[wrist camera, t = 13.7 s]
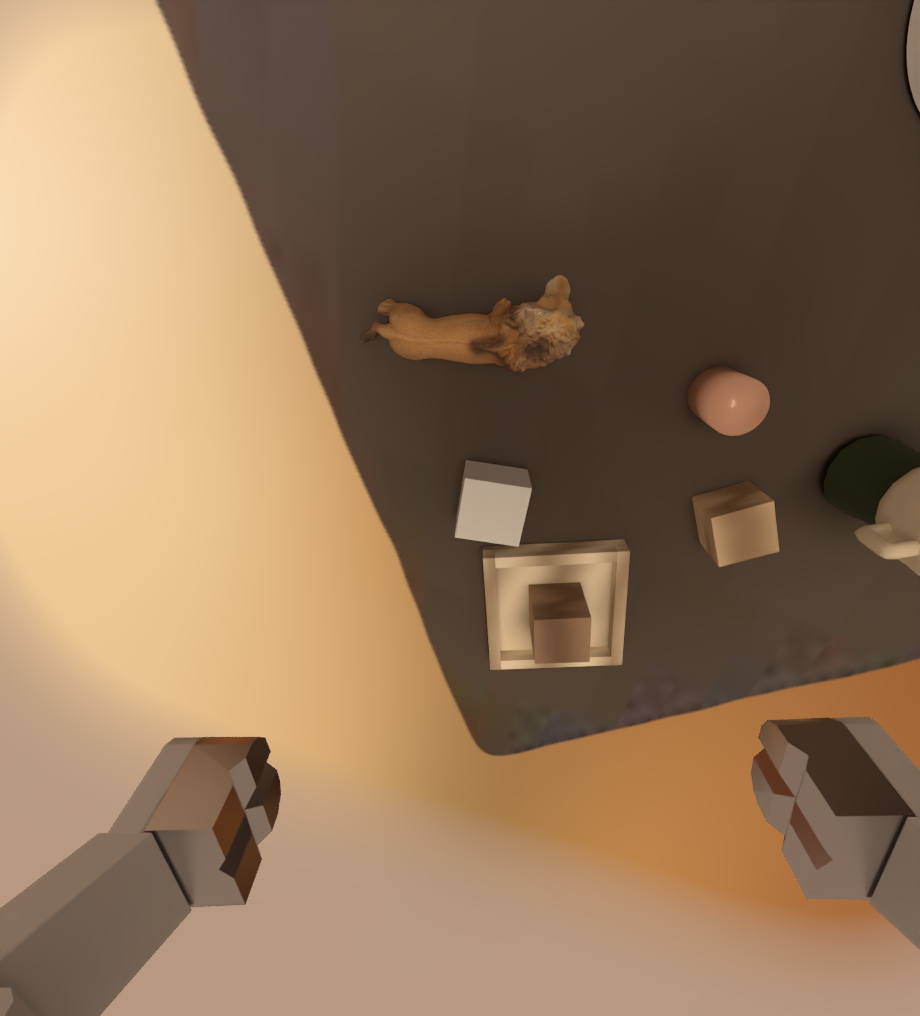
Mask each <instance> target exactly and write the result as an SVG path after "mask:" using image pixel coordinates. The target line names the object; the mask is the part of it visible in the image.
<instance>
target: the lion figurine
mask: <svg viewBox="0 0 920 1016" xmlns="http://www.w3.org/2000/svg"><path fill="white" fill-rule="evenodd" d="M569 295H570V285H569V283H568V280H567V279H566V278H565V277H564V276H561V275H558V276H556V277H554V279H551V280H550V281H549V282H548V283H547V285H546V289H545V293H544V295H543V296H542V297H541V298H540V299H539V300H538V301H537V302H526V303H522V304H520V305H512V304H511V302H510V301H509V300H507V299H506V298H503V299H501V300H500V301H499V302H498V303H497V304H496V305H495V306H494V307H493V311H492V312H491V313H489V314H488V315H484V314H468V313H467V314H459V315H450V316H445V317H441V318H436V319H434V318H430V317H428V316H426V315H425V314H424V312H423V311H422V310H421V309H420V308H418V307H416V306H414V305H412V304H408V303H397V302H396V301H394V300H393V299H386V300H384V301H382V302H381V303H380V304H379V306H378V312H379V313H380V314H381V315H384V316H389V324H380V323H378V322H375V323H374V324H373V325H372V328H371V329H370V330H368V331H366V332H365V333H364V334H362V335H361V336H360V341H361V342H366V341H368V340H372V339H373V338H374V337H375V335H376V334H377V333H379V334H380V335H381V336H383V337H384V338H387V339H388V340H389V343H390V346H391V347H392V349H393V350H394V351H395V352H396V353H397V354H399V355H400V356H402V357H404V358H407V359H411V360H421V359H428V358H437V359H445V360H450V361H456V362H462V363H468V364H489V363H495V364H497V365H499V366H505V367H506V368H507V369H509V370H511V371H513V372H516V371H521V372H524V371H525V370H527V369H532V368H538V367H540V366H542V367H545V366H546V365H547V364H548V363H551V362H553V361H554V360H555V359H557V360H559V359H561V358H562V357H564V356H566V355H569V354H570V353H571V349H572V348H573V347H574V345H575V344H576V343H577V342H578V340H579V339H580V335H579V331H580V329H581V328H582V327H583V326H584V323H583V322H582V320H581V317H580V316H578V317H577V316H576V315H575V314H573V311H572V305H571V303H570V302H569Z"/></svg>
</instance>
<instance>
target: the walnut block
mask: <svg viewBox="0 0 920 1016" xmlns="http://www.w3.org/2000/svg"><path fill="white" fill-rule="evenodd" d="M528 587H529V627H530V634H531V641H532V648H533V655H534V662H535V664H546V663H574V662H590V641H591V615H590V612H589V608H588V605H587V602H586V599H585V596H584V593H583V590H582V586H581V583H580V582H573V583H551V584H529V585H528Z"/></svg>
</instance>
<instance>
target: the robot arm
mask: <svg viewBox="0 0 920 1016" xmlns="http://www.w3.org/2000/svg"><path fill="white" fill-rule="evenodd" d="M907 70H908V78H909V83H910V88H911V92H912V95H913V98H914V101H915V103H916V106H917V108H918V110H919V112H920V0H914V4H913V8H912V12H911V17H910V22H909V29H908V37H907ZM758 738H759V739H760V741H761V743H762V745H763V746H764V749H763V750H762V751H760V752H759V753H758V754H757V755H756V756H754V758H753V764H752V769H751V776H752V784H753V790H754V793H755V796H756V799H757V802H758V805H759V807H760V809H761V811H762V813H763V815H764V817H765V819H766V821H767V822H768V823H769V824H771V825H772V826H773V827H774V828H776V829H777V830H778V831H779V832H781V833H782V834H783V835H784V841H783V847H782V852H783V854H784V856H785V858H786V860H787V862H788V864H789V865H790V867H791V869H792V871H793V873H794V875H795V877H796V879H797V881H798V882H799V885H800V886H801V888H802V890H803V892H804V894H805V896H806V898H807V899H808V898H809V899H810V898H811V899H861V900H863V899H864V900H870V902H869V903H870V904H871V905H872V906H873V907H874V908H875V909H876V910H877V911H878V912H879V913H881V914H882V915H883V916H884V917H885V918H886V919H887V920H888V921H889V922H890V923H891V924H893V925H894V926H895V927H896V928H897V929H898V930H899V931H900V932H901V933H902V934H903V935H905V936H906V937H907V938H908V939H909V940H910V941H911V942H912V943H913V944H914V945H915V946H917V947H918V948H919V949H920V770H919V769H918V768H917V767H916V766H915V764H914V763H913V762H912V761H911V760H910V759H909V758H908V757H907V755H906V754H905V753H904V752H903V751H902V750H901V749H900V747H899V746H898V745H897V744H896V743H895V742H894V741H893V739H892V738H891V737H890V736H889V735H888V734H887V733H886V731H885V730H884V729H883V728H882V727H881V726H880V725H879V724H878V723H877V722H876V721H874V720H873V719H871V718H869V717H852V718H851V717H849V718H832V719H831V718H811V719H788V720H767V721H766V722H765V723H764V724H763V725H762V726H761V729H760V733H759V737H758ZM269 754H270V749H269V746H268V743H267V742H266V738H262V737H202V738H201V737H199V738H197V737H196V738H174V739H172V740H171V741H170V742H168V743H167V744H166V745H165V746H164V747H163V749H162V750H161V752H160V753H159V755H158V756H157V758H156V759H155V761H154V763H153V764H152V766H151V767H150V769H149V770H148V772H147V773H146V775H145V776H144V778H143V780H142V781H141V783H140V784H139V786H138V787H137V789H136V790H135V792H134V793H133V795H132V796H131V798H130V800H129V801H128V803H127V804H126V806H125V807H124V809H123V810H122V812H121V813H120V815H119V816H118V818H117V819H116V821H115V823H114V824H113V826H112V827H111V829H110V830H109V832H108V833H99V834H97V835H96V836H95V837H93V838H92V839H91V840H89V841H88V842H87V843H85V844H84V845H83V846H81V847H80V848H79V849H77V850H76V851H75V852H73V853H72V854H71V855H70V856H68V857H67V858H66V859H64V860H63V861H62V862H60V863H59V864H58V865H57V866H55V867H54V868H53V869H51V870H50V871H49V872H47V873H46V874H45V875H43V876H42V877H41V878H39V879H38V880H37V881H36V882H34V883H33V884H32V885H30V886H29V887H28V888H26V889H25V890H24V891H23V892H21V893H20V894H18V895H17V896H16V897H15V898H13V899H12V900H11V901H9V902H8V903H7V904H5V905H4V906H3V907H1V908H0V1016H100V1015H101V1014H102V1013H103V1011H104V1010H105V1009H106V1008H107V1007H108V1006H109V1005H110V1003H111V1002H112V1001H113V1000H114V999H115V998H116V997H117V995H118V994H119V993H120V992H121V991H122V990H123V989H124V987H125V986H126V985H127V984H128V983H129V982H130V981H131V979H132V978H133V977H134V976H135V975H136V974H137V973H138V971H139V970H140V969H141V968H142V967H143V966H144V965H145V963H146V962H147V961H148V960H149V959H150V958H151V957H152V955H153V954H154V953H155V952H156V951H157V950H158V948H159V947H160V946H161V945H162V944H163V943H164V942H165V940H166V939H167V938H168V937H169V936H170V934H172V932H173V931H174V930H175V929H176V928H177V927H178V926H179V924H180V923H181V922H182V921H183V920H184V919H185V917H186V916H187V915H188V914H189V913H190V912H191V908H190V907H204V906H226V905H245V904H246V901H247V899H248V896H249V893H250V890H251V888H252V885H253V882H254V879H255V877H256V874H257V871H258V868H259V866H260V863H261V860H262V858H261V855H260V851H259V848H258V844H259V843H260V842H261V841H262V840H263V839H264V838H265V837H266V836H267V835H268V834H269V833H270V832H271V831H272V829H273V826H274V824H275V821H276V818H277V815H278V810H279V802H280V796H281V789H280V779H279V776H278V773H277V770H276V769H275V768H274V767H272V766H271V765H270V764H268V763H267V759H268V757H269Z"/></svg>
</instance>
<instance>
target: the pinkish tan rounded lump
mask: <svg viewBox="0 0 920 1016" xmlns="http://www.w3.org/2000/svg"><path fill="white" fill-rule="evenodd" d="M687 402H688V406H689V408H690V410H691V412H692V413H693V414H694V415H695V416H697V417H698V418H700V419H701V420H702V421H704V422H705V423H707V424H708V425H709V426H711V427H712V428H714V429H715V430H716V431H718V432H719V433H721V434H724V435H728V436H738V435H742V434H745V433H747V432H749V431H751V430H753V429H754V428H756V427H757V426H758V425H759V424H760V423H761V422H762V421H763V419H764V418H765V416H766V414H767V412H768V409H769V405H770V396H769V392H768V390H767V388H766V387H765V385H764V384H763V383H761V382H760V381H758V380H756V379H754V378H751V377H749V376H747V375H744V374H742V373H740V372H738V371H735V370H733V369H731V368H728V367H723V366H717V367H712V368H709V369H707V370H705V371H703V372H702V373H700V374H699V375H698V376H697V377H696V378H695V379H694V380H693V382H692V383H691V385H690V387H689V390H688V394H687Z"/></svg>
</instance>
